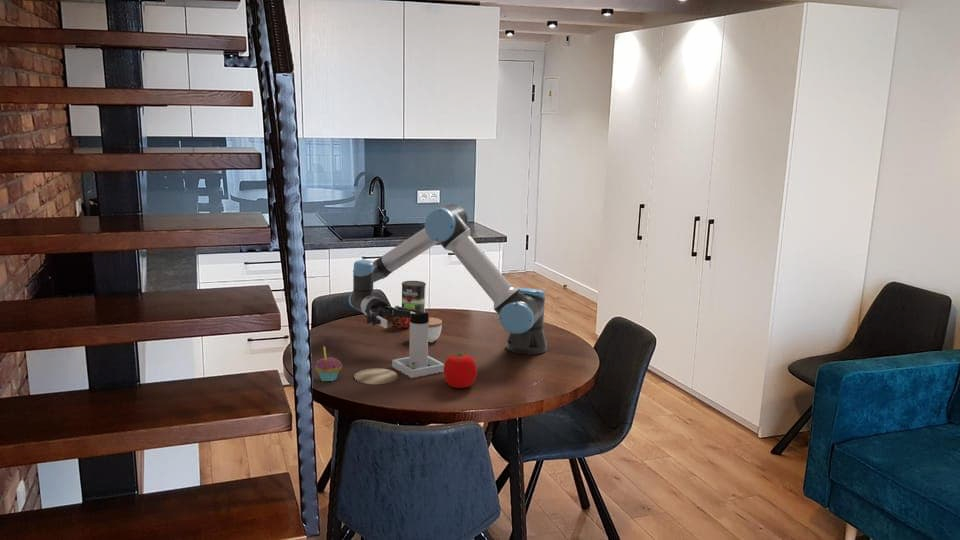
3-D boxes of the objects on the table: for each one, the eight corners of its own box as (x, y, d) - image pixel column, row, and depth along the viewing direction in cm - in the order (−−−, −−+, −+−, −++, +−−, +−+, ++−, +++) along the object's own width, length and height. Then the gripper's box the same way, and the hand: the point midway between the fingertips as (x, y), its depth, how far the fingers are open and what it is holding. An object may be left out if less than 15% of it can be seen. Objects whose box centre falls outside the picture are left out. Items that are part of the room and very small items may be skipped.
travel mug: (413, 373, 246) (414, 315, 242) (406, 367, 252) (407, 310, 248) (430, 371, 249) (432, 313, 245) (423, 365, 255) (424, 309, 251)
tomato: (480, 391, 233) (481, 358, 230) (447, 393, 230) (448, 360, 227) (471, 379, 242) (472, 348, 240) (439, 381, 239) (440, 349, 237)
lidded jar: (440, 345, 279) (441, 321, 277) (412, 343, 279) (412, 319, 277) (442, 336, 289) (443, 313, 287) (415, 335, 289) (415, 312, 287)
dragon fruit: (394, 335, 294) (406, 332, 306) (411, 324, 292) (422, 321, 303) (384, 316, 295) (396, 314, 307) (400, 306, 293) (412, 304, 305)
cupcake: (328, 385, 232) (328, 349, 230) (309, 380, 236) (308, 344, 234) (347, 378, 239) (347, 343, 237) (328, 373, 244) (327, 338, 241)
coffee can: (419, 318, 314) (420, 286, 311) (397, 316, 317) (397, 284, 314) (428, 313, 324) (429, 281, 321) (406, 310, 327) (407, 279, 324)
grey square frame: (424, 360, 260) (424, 354, 259) (444, 371, 249) (445, 364, 249) (392, 366, 252) (392, 359, 252) (411, 378, 242) (411, 370, 241)
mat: (405, 375, 244) (405, 373, 244) (380, 387, 232) (380, 385, 232) (371, 367, 251) (371, 365, 251) (345, 378, 239) (345, 377, 239)
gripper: (404, 313, 281) (433, 327, 264) (343, 321, 266) (371, 337, 249) (404, 294, 279) (434, 307, 262) (344, 301, 265) (371, 315, 248)
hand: (403, 322), depth 256 cm, fingers open, 13 cm apart
